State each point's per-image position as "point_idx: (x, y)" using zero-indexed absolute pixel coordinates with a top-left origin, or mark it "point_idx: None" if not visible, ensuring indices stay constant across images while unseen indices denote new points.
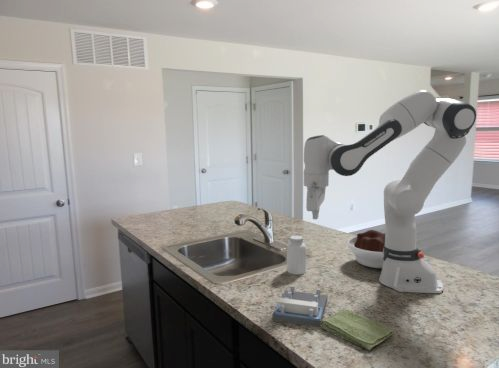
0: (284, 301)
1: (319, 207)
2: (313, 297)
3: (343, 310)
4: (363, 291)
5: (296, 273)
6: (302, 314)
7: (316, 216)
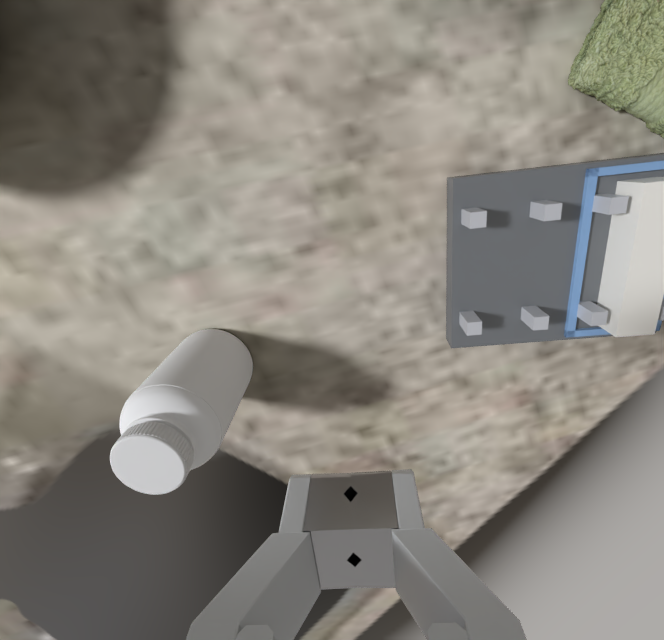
0: (648, 316)
1: (200, 636)
2: (489, 230)
3: (597, 69)
4: (294, 27)
5: (249, 355)
6: None
7: (420, 511)
